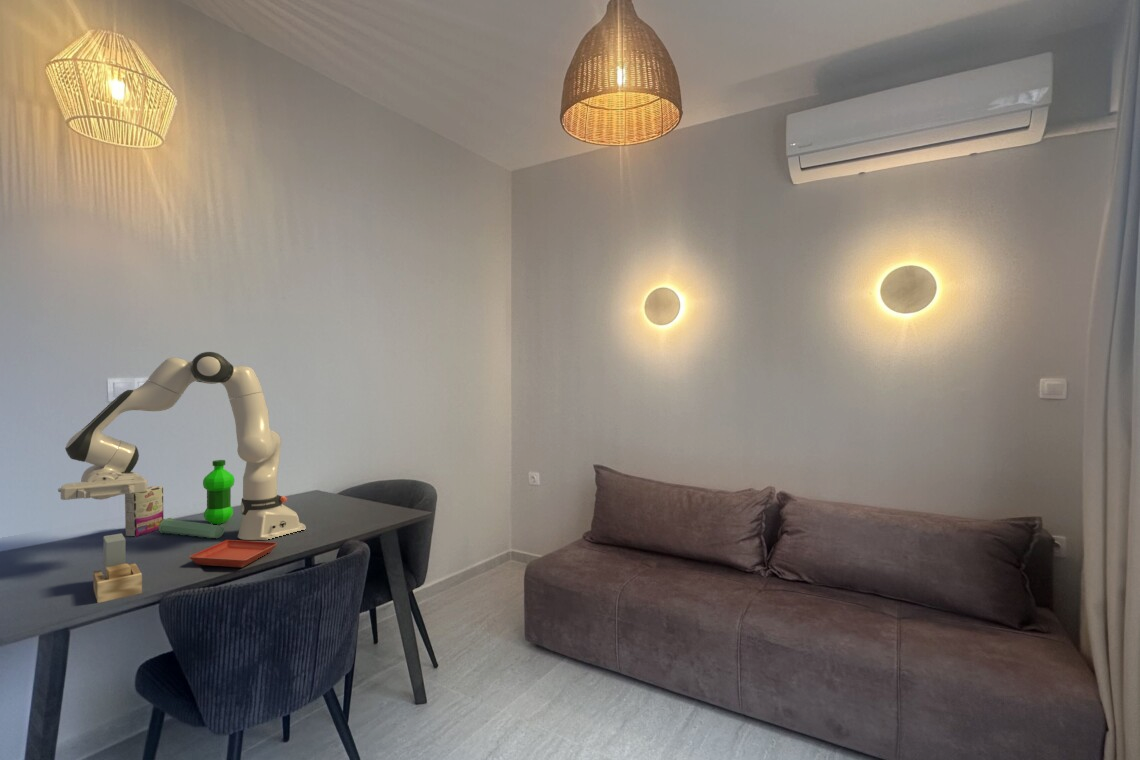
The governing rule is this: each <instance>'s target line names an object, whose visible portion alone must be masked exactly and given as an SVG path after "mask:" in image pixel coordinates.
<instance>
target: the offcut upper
mask: <svg viewBox="0 0 1140 760" xmlns="http://www.w3.org/2000/svg"><path fill="white" fill-rule="evenodd" d="M129 575H131V566H130V564H129V563H126V564H121V565H116V566H112V567H107V568H106V580H109V579H114V578H119V577H124V576H129Z"/></svg>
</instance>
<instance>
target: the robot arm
mask: <svg viewBox="0 0 1140 760" xmlns="http://www.w3.org/2000/svg"><path fill="white" fill-rule="evenodd" d="M195 382H198V383H202V384H203V383H204V384H209V385H215V384H221V385H223V387H224V388H225V390H226V393H227V397H228V400H229V404H230V408H231V410H232V413H233V417H234V423H235V433H236V440H237V441H236V442H237V455H238V456H239V458H240V459H241V460H242V461H244V462H246V464H245V467H244V473H243V476H242V498H241V503H240V507H241V508H240V512H241V521H240V522H241V523H240V528H239V531H238V534H237V538H238V539H240V540H243V541H258V540H259V541H269V540H268V539H270V540H273V539H272V538H274V539H276V538H275V537H278V538H280V537H279V536H282V537H284V536H283V535H286V534H289V535H291V534H290V533H293V532H297V531H301V530H305V529H306V530H307V527H306V524H304V523H303V522H300V517H299V516H298V513H297V512H296V511H295V510H293V509H291V508H290V507H288V506H286V505H285V503H287V501H288V498H287V497H286V496H284V495H283V496H282V495H279V494H278V473H279V471H278V470H279V463H280V456H281V445H282V438H281V436H280V435H279V434H278V432H276V431H274V430H272V429H270V421H269V409H268V406H267V401H266V397H265V394H264V391H263V387H262V384H261V383H260V380H259V378H258V376H257V374H256V372H255V370H254V369H253V368H252V367H250V366H246V365H239V366H234V365H232V364H231V363H230V362H229V361H228V360H227V359H226V358H225V357H224V356H222V355H221V354H219V353H218V352H214V351H204V352H200V353H199V354H197V355H196V356H195V357H194V358H193V359H192V360H191V361H190V360H185V359H183V358H179V357H169V358H166V359H165V360H164V361H162V363H160V365H158V366H157V368H156V369H155V370H154V371H152V372H151V374H150V376H149V377H148V378H147V380H146V381H145V382H144V383H143V384H142V385H140V386H139V387H136V388H135V389H126V390H125V391H123V392H121V394H118V396H116V398H115V399H113V400H112V401H111V402H110V403H108V405H106V407H104V409H102V410H101V411H100V412H99V413H98V414H97V415H96V416H95V417H94V418H93V419H91V421H90V422H89V423H88V424H87V425H86V426H84V427H83V428H82V429H81V430H80V431H78V432H76V433H75V434H73V436H72V437H70V439H69V440H68V442H67V443H66V446H65V448H64V449H65V451H66V453H67V456H68V457H69V458H70V459H71V460H74V461H78V462H83V463H87V464H91V465H90V466H89V467H88V468H86V469H85V470H84V471H83V472H82V475H81V481H80V482H70V483H65V484H63V485H62V486H61V487H59V488H57V491H58V492H59V493H60V500H62V501H64V500H65V501H66V500H67V501H68V500H69V501H70V500H78V499H79V500H80V499H84V500H85V499H94V500H100V501H101V500H107V499H109V498H112V497H116V496H120V495H125V494H131V493H140V492H146V491H147V487H148V480H147V479H146V478H145V477H143V476H142V475H139V473H138V472H134V471H133V470H134V468H135V466H136V465H137V463H138V461H139V458H140V457H139V456H140V454H139V450H138V447H137V446H136V445H134V444H131V443H129V442H125V441H123V440H121V439H117V438H114V437H111V436H109V435H105V434H103V431H104V430H105V429H106V428H107V427H108V426H109V425H110V424H112V422H113V421H114V420H115V419H116V418H117V417H118V416H120V415H121V414H123V413H126V412H128V411H142V412H143V411H145V412H163V411H166V410H169V409H171V408H173V407H174V406H175V405H176V403H177V402H178V401H179V400H180V399H181V397H182V396H183V394H184V392H185V391H186V390H187V388H188V387H189V386H190V385H191V384H193V383H195ZM306 530H305V531H306ZM301 532H302V531H301ZM297 533H298V532H297ZM293 534H294V533H293ZM286 536H287V535H286Z"/></svg>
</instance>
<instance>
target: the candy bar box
mask: <svg viewBox="0 0 1140 760" xmlns="http://www.w3.org/2000/svg"><path fill="white" fill-rule="evenodd" d="M124 511H125V513H124V514H125V516H124V520H125V521H124V522H125V524H124V525H125V526H124V527H125V537H129V536H135V537H134V538H137V537H140V536H139V535H141V536H143V534H144V535H147V534H149V532H150V533H153V532H152V531H154V532H156V530H157V531H159V524H160V523H161V522H162V520H163V519H164V486H158V485H153V486H149V487H148V486H147V491H146V492H140V493H131V494H124ZM146 533H147V534H146ZM136 536H137V537H136Z"/></svg>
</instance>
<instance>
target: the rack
mask: <svg viewBox="0 0 1140 760" xmlns="http://www.w3.org/2000/svg"><path fill="white" fill-rule="evenodd" d="M129 565H130V566H131V575H129V576H124V577H119V578H114V579H109V580H104V577H103V572H102V570H100V569H99V570H96V571H95V570H94V571H93V593H94V596H95V598H96V603H97V604H98V603H99V604H100V603H103V602H104V603H105V602H107V601H113V600H117V599H120V598H121V599H122V598H125V597H130V596H135V595H138V594H142V593H143V573H142V572H141V571H140V568H139V567H138V565H137V564H136V563H131V564H129Z"/></svg>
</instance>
